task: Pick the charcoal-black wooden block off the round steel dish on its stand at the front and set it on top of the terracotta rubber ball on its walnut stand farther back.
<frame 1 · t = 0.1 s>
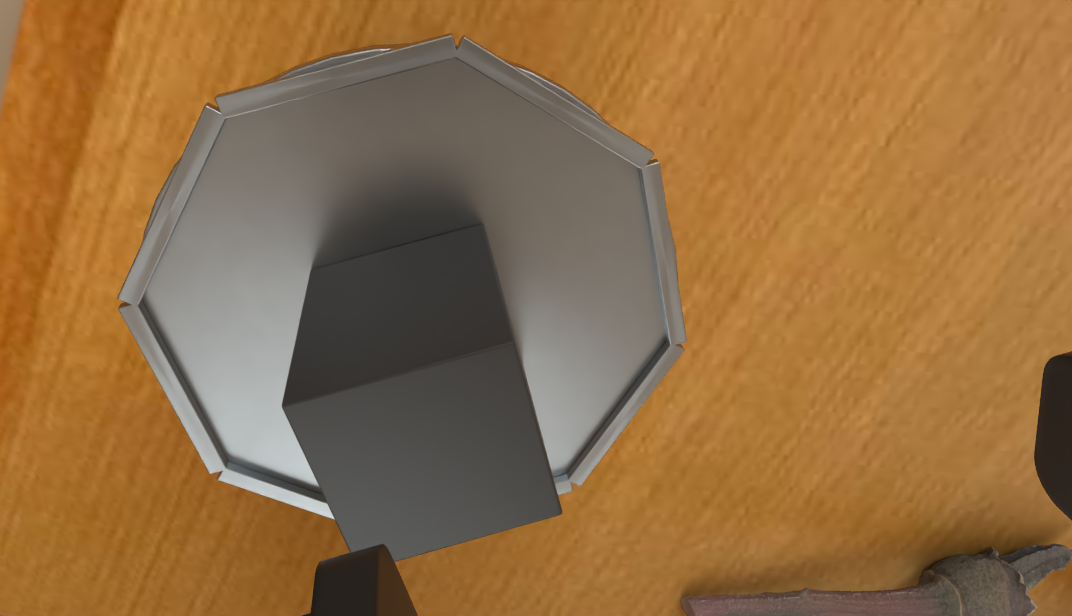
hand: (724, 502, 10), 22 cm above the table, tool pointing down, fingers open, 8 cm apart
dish: (413, 188, 30), on the table
block: (422, 321, 21), point 10 cm above the table, touching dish
natural artifact: (874, 565, 45), on the table
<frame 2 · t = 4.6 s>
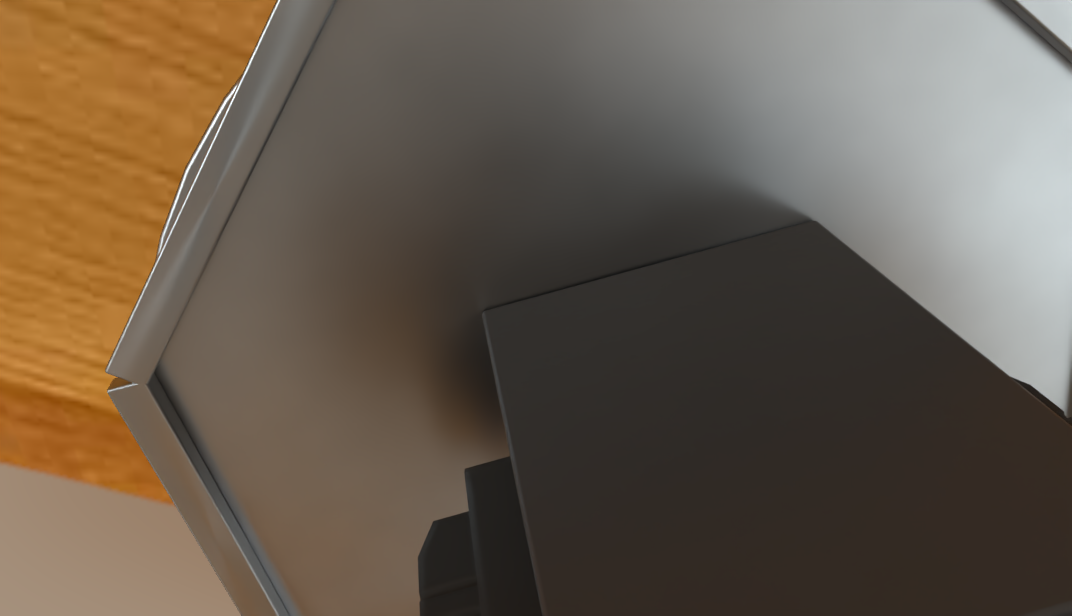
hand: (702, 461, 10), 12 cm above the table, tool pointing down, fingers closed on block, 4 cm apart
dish: (550, 169, 21), on the table
block: (673, 401, 11), point 11 cm above the table, touching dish, gripper
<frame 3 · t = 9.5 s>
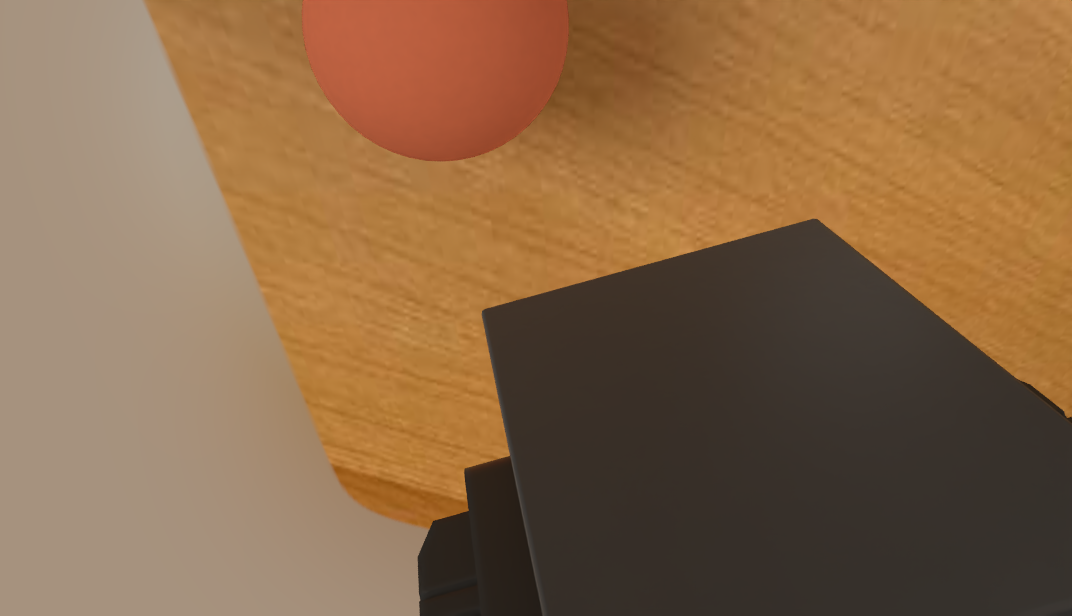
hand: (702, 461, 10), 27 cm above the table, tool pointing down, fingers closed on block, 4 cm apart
block: (673, 400, 11), point 26 cm above the table, touching gripper
ball: (431, 6, 33), on the table
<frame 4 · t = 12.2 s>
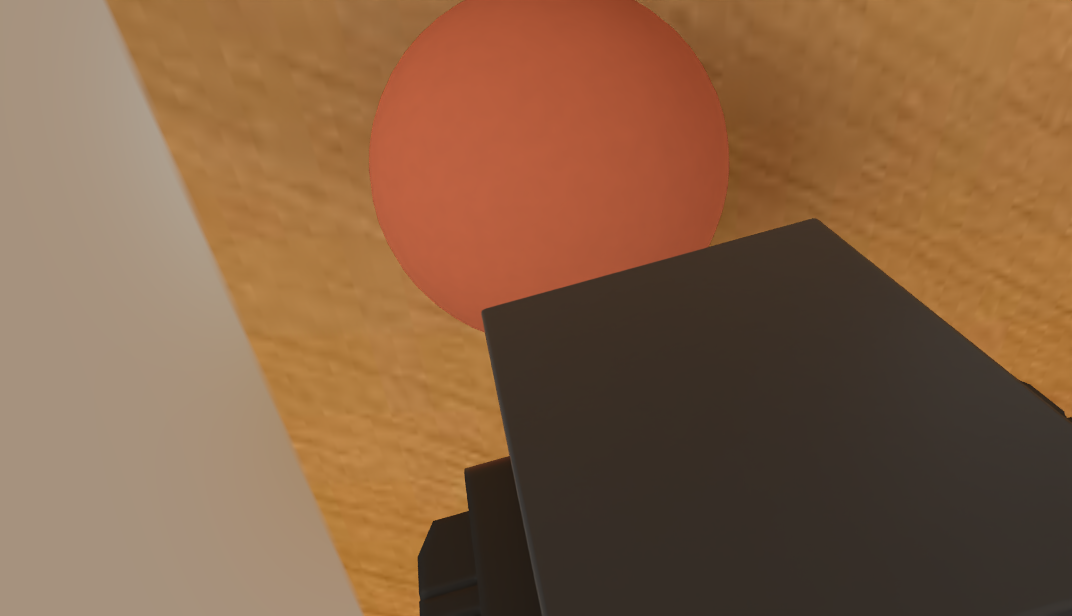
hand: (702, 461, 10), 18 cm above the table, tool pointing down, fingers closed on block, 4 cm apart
block: (672, 400, 11), point 16 cm above the table, touching gripper
ball: (518, 112, 26), on the table
when the fingers open (12 cm above the table, at t = 14.3 s): block stays where it is, resting on ball.
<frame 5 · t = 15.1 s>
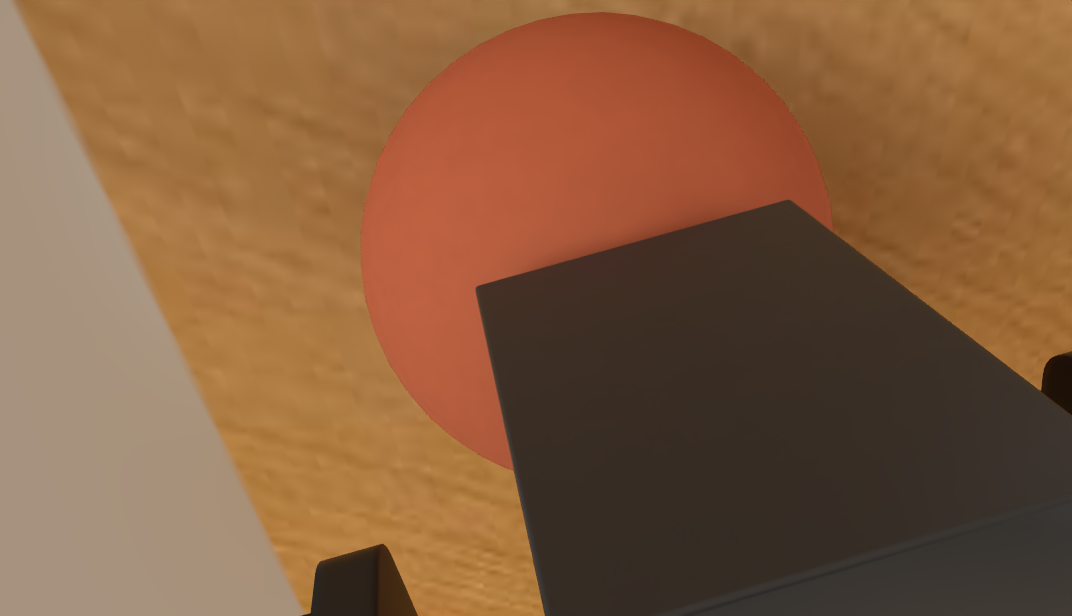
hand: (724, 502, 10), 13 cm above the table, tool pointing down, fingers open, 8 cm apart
block: (657, 374, 12), point 10 cm above the table, touching ball
ball: (545, 165, 21), on the table
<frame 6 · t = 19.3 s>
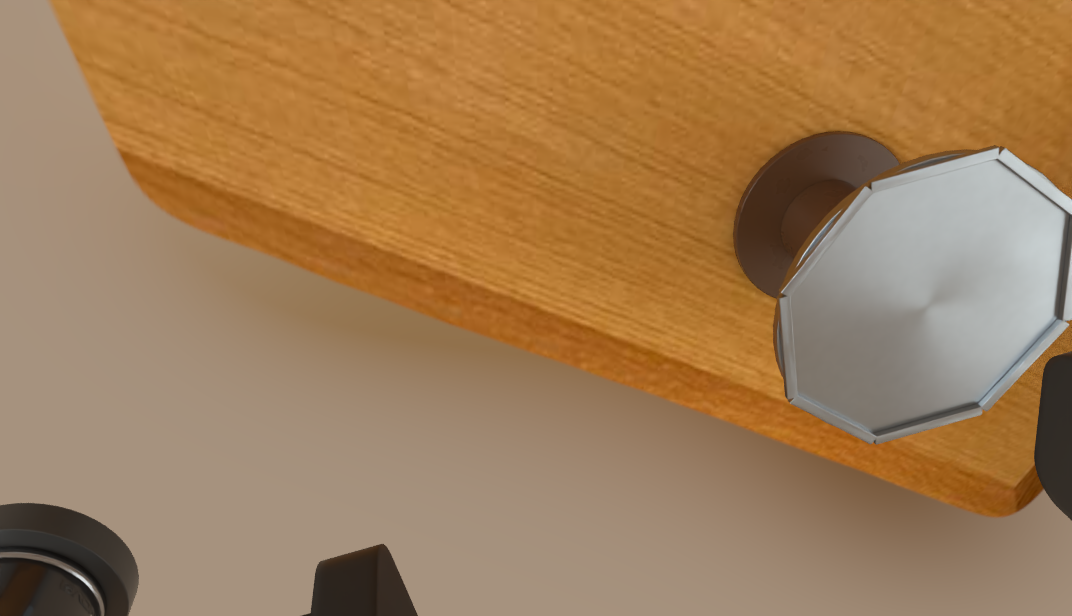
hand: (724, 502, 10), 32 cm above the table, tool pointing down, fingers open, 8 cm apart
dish: (819, 219, 45), on the table
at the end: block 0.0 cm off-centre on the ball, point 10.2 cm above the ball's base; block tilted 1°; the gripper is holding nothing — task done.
